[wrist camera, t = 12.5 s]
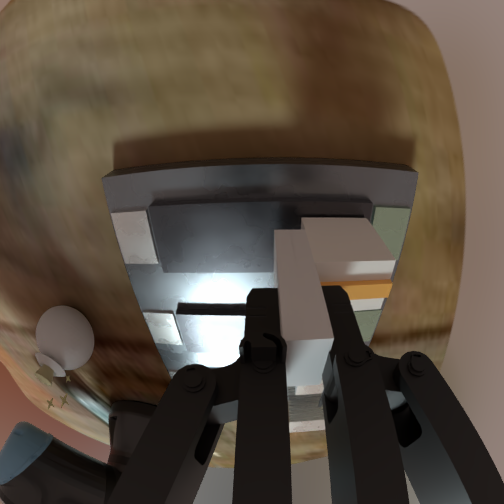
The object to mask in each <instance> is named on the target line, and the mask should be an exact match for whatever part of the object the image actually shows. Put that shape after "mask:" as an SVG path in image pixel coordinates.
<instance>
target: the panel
mask: <svg viewBox="0 0 504 504" xmlns="http://www.w3.org/2000/svg"><path fill="white" fill-rule="evenodd" d="M417 179H418V172H417V171H415V170H414V169H412V168H411V167H409V166H407V165H401V164H392V163H383V162H372V161H360V160H345V159H325V158H234V159H214V160H199V161H187V162H175V163H165V164H156V165H148V166H140V167H132V168H125V169H119V170H113V171H111V172H110V173H108V174H107V175H105V176H104V177H102V182H103V187H104V191H105V196H106V200H107V204H108V208H109V212H110V216H111V220H112V224H113V227H114V231H115V234H116V238H117V241H118V245H119V248H120V251H121V254H122V258H123V261H124V264H125V267H126V270H127V273H128V276H129V279H130V282H131V284H132V287H133V290H134V293H135V295H136V298H137V301H138V303H139V306H140V309H141V311H142V314H143V316H144V319H145V321H146V324H147V326H148V328H149V331H150V333H151V335H152V338H153V340H154V342H155V345H156V347H157V349H158V351H159V354H160V356H161V358H162V360H163V362H164V364H165V366H166V368H167V371H168V373H169V375H170V377H171V379H172V378H173V376H174V375H175V373H176V372H177V371H178V370H179V369H180V368H182V367H184V366H186V365H190V364H201V365H204V366H206V367H208V368H210V369H211V370H212V369H216V368H220V367H224V366H227V365H230V364H231V363H233V362H235V361H236V360H237V359H238V358H239V357H240V354H239V345H240V342H241V340H242V339H243V338H244V329H245V313H246V297H247V295H248V294H249V292H250V291H251V289H252V288H274V230H301V218H367V219H368V221H369V222H370V223H371V225H372V226H373V227H374V229H375V230H376V232H377V233H378V235H379V236H380V237H381V239H382V240H383V242H384V243H385V245H386V246H387V248H388V249H389V251H390V252H391V254H392V255H393V257H394V258H395V260H396V262H395V265H394V269H393V272H392V276H391V279H390V280H391V281H392V282H393V278H394V275H395V272H396V269H397V265H398V262H399V258H400V255H401V251H402V248H403V244H404V240H405V236H406V232H407V228H408V224H409V220H410V215H411V210H412V206H413V201H414V196H415V190H416V185H417ZM386 299H387V298H384V300H383V303H382V306H381V309H374V310H361V311H353V312H354V314H355V317H356V320H357V323H358V326H359V329H360V332H361V335H362V338H363V341H364V343H365V345H367V346H369V344H370V341H371V339H372V336H373V334H374V331H375V329H376V326H377V324H378V321H379V319H380V316H381V313H382V311H383V308H384V305H385V302H386ZM323 390H324V387H323V380H321V383H320V385H307V386H288V387H287V394H288V412H289V432H304V431H316V430H325V421H324V413H323V405H322V406H321V407H318V405H319V400H320V398H321V395H322V392H323Z"/></svg>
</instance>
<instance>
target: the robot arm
mask: <svg viewBox="0 0 504 504" xmlns="http://www.w3.org/2000/svg"><path fill="white" fill-rule="evenodd" d="M239 354H240V357H239V358H238V359H237V360H236V361H235V362H233V363H231V364H230V365H227V366H224V367H220V368H216V369H212V370H211V369H210V368H208V367H206V366H204V365H201V364H190V365H186V366H184V367H182V368H180V369H179V370H178V371H177V372H176V373H175V375H174V376H173V378H172V380H171V381H170V383H169V385H168V387H167V389H166V391H165V393H164V394H163V396H162V398H161V400H160V402H159V404H158V406H157V407H156V406H153V405H149V404H144V403H139V402H133V401H117V402H114V403H113V404H112V407H111V410H110V413H109V434H110V447H111V449H110V455H109V459H108V463H107V464H106V463H103V462H101V461H99V460H97V459H95V458H93V457H90V456H89V455H86V454H84V453H82V452H80V451H78V450H76V449H75V448H73V447H71V446H69V445H67V444H65V443H63V442H62V441H60V440H58V439H56V438H55V437H53V435H51V434H50V433H48V434H47V433H46V432H44V431H42V430H41V429H39V428H37V427H35V426H34V425H32V424H30V423H28V422H19V423H17V424H16V426H15V427H14V429H13V430H12V432H11V434H10V436H9V437H8V439H7V441H6V443H5V444H4V446H3V448H2V450H1V452H0V500H1V502H2V504H193V501H194V499H195V497H196V494H197V491H198V490H199V487H200V484H201V482H202V480H203V477H204V475H205V473H206V470H207V468H208V465H209V463H210V460H211V458H212V455H213V453H214V450H215V447H216V445H217V442H218V440H219V437H220V435H221V432H222V429H223V427H224V424H225V423H227V422H231V421H235V420H237V431H236V448H235V465H234V483H233V500H232V504H292V488H291V487H292V486H291V456H290V433H289V412H288V394H287V387H288V386H307V385H320V383H321V380H323V387H324V390H323V392H322V395H321V398H320V400H319V405H318V407H321V406H322V405H323V413H324V421H325V430H326V439H327V449H328V459H329V470H330V482H331V496H332V504H409V498H408V491H407V484H406V478H405V472H406V474H407V476H408V478H409V481H410V482H411V485H412V487H413V489H414V491H415V493H416V496H417V498H418V500H419V502H420V504H504V483H503V481H502V479H501V476H500V474H499V472H498V471H497V468H496V466H495V464H494V462H493V460H492V458H491V457H490V455H489V453H488V451H487V449H486V447H485V445H484V443H483V442H482V440H481V438H480V436H479V434H478V433H477V431H476V429H475V427H474V426H473V424H472V422H471V421H470V419H469V417H468V416H467V414H466V413H465V411H464V409H463V408H462V406H461V404H460V403H459V401H458V400H457V398H456V397H455V395H454V393H453V392H452V390H451V389H450V387H449V386H448V384H447V383H446V381H445V380H444V378H443V377H442V376H441V374H440V372H439V371H438V370H437V368H436V367H435V365H434V364H433V362H432V361H431V360H430V359H429V358H428V357H427V356H426V355H425V354H423V353H421V352H417V351H411V352H407V353H405V354H404V355H403V356H402V357H401V359H394V358H387V357H382V356H378V355H376V354H374V352H373V350H372V349H371V348H369V347H368V346H367V345H365V343H364V341H363V338H362V335H361V332H360V329H359V326H358V323H357V320H356V317H355V314H354V312H353V308H352V305H351V302H350V299H349V296H348V293H347V292H346V291H345V290H344V289H343V288H342V287H341V286H340V285H330V286H321V283H320V280H319V276H318V272H317V269H316V265H315V262H314V259H313V255H312V252H311V248H310V245H309V241H308V238H307V234H306V231H305V229H302V230H274V288H252V289H251V291H250V292H249V294H248V295H247V297H246V313H245V329H244V338H243V339H242V340H241V342H240V345H239ZM404 470H405V472H404Z"/></svg>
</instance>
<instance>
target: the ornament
mask: <svg viewBox="0 0 504 504" xmlns="http://www.w3.org/2000/svg"><path fill="white" fill-rule="evenodd" d="M36 341H37V345H38V348H39V350H40V352H41V353H36V354H35V355H36V358H37V360H38V362H39V364H40V366H41V368H40V369H39V370H38V371H37V372H36V373H35V376H36V377H37V378H38V379H39V380H40V381H41V382H42V383H44V384H46V385H48V386H52V380H53V376H60V377H64V376H65V375H66V374H65V371H64V370H73V369H77V368H79V367H81V366H83V365H84V364H85V363H86V362H87V361H88V360H89V358H90V357H91V355H92V352H93V348H94V334H93V330H92V327H91V325H90V323H89V322H88V320H87V319H86V318H85V316H84V315H83V314H82V313H81V312H79V311H78V310H76V309H74V308H72V307H69V306H55V307H52V308H50V309H48V310H47V311H46V312H45V313H44V314H43V315H42V316H41V317H40V319H39V321H38V324H37V328H36ZM63 369H64V370H63ZM69 376H70V375H69ZM69 376H68V377H67V376H66V377H67V381H68V380H69V381H70V379H69ZM67 381H66V382H67ZM59 396H60V395H59ZM60 397H61V396H60ZM66 397H67V394H66V395H65V397H64V398H63V397H61V399H62V400H63V401H62V405H61V408H62V406H63V404H64V403H67V404H68V402H67V401H66ZM52 400H53V398H52V399H51V401H48V400H47V402H48V403H49V406H48V409H49V407H50V406H53V404H52ZM68 405H69V404H68ZM53 407H54V406H53Z"/></svg>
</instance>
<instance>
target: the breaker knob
mask: <svg viewBox="0 0 504 504" xmlns="http://www.w3.org/2000/svg"><path fill="white" fill-rule="evenodd" d="M302 229H305V231H306V234H307V238H308V241H309V245H310V248H311V252H312V255H313V259H314V262H315V265H316V269H317V272H318V276H319V280H320V283H321V286H330V285H340V286H341V287H342V288H343V289H344V290H345V291H346V292H347V293H348V296H349V299H350V302H351V305H352V308H353V311H361V310H374V309H381V306H382V303H383V300H384V298H387V297H388V296H389V293H390V290H391V287H392V284H393V283H392V281H391V280H390V279H391V276H392V272H393V269H394V265H395V262H396V260H395V258H394V257H393V255H392V254H391V252H390V251H389V249H388V248H387V246H386V245H385V243H384V242H383V240H382V239H381V237H380V236H379V235H378V233H377V232H376V230H375V229H374V227H373V226H372V225H371V223H370V222H369V221H368V219H367V218H301V230H302Z"/></svg>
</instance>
